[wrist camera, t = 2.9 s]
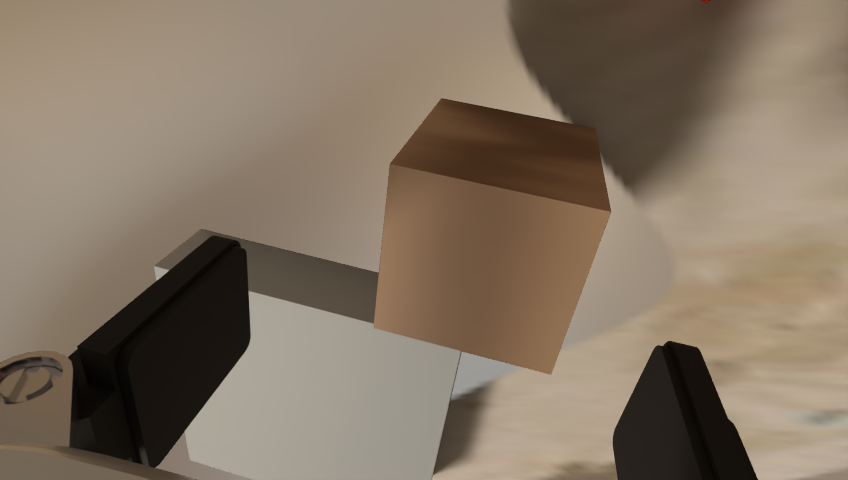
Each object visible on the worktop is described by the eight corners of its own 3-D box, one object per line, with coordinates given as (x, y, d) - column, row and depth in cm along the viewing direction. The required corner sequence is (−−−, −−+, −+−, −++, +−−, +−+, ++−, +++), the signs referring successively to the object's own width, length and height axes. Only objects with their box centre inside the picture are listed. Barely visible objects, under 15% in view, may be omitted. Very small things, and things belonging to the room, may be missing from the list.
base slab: (474, 296, 20) (461, 346, 18) (432, 476, 26) (419, 531, 24) (201, 228, 22) (153, 266, 19) (223, 413, 28) (189, 460, 25)
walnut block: (594, 128, 16) (611, 211, 11) (553, 258, 19) (550, 374, 14) (441, 98, 17) (389, 163, 12) (422, 228, 19) (373, 328, 14)
